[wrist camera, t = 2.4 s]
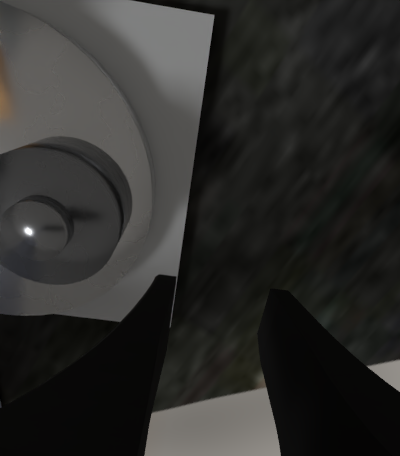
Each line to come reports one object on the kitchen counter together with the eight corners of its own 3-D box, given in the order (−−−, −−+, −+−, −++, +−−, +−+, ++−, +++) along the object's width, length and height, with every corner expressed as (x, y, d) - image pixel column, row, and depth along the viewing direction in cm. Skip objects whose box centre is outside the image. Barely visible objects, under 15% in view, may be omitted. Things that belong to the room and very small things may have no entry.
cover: (129, 258, 19) (109, 305, 15) (15, 243, 19) (-35, 287, 15) (136, 146, 17) (114, 167, 13) (3, 126, 16) (-64, 141, 12)
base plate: (171, 320, 25) (170, 327, 24) (-126, 284, 23) (-137, 291, 23) (213, 17, 16) (214, 15, 16) (-242, -62, 15) (-264, -69, 14)
